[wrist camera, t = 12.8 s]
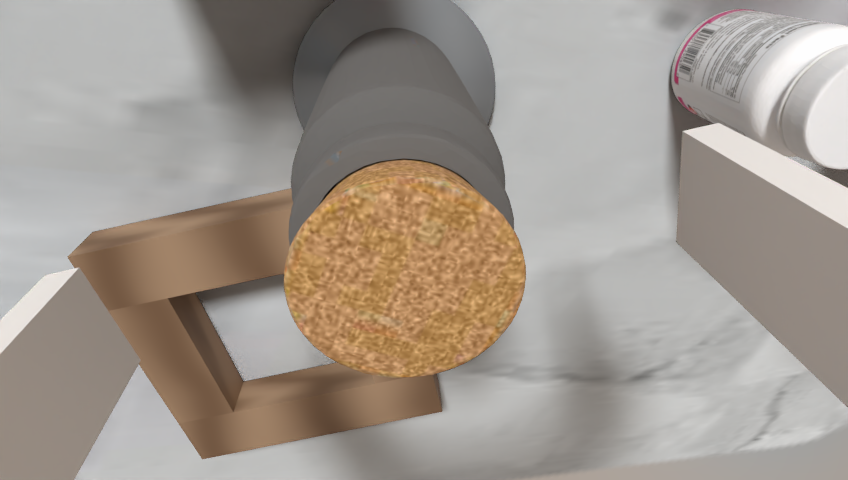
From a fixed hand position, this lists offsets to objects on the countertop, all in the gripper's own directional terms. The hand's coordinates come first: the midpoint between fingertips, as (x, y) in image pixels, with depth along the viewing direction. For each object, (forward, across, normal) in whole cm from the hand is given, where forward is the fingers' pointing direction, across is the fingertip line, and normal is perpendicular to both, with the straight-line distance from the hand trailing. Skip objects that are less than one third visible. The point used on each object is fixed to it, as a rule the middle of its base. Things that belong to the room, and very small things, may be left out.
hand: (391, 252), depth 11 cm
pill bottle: (+14, +16, -2) cm, 21 cm away
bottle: (+14, 0, 0) cm, 14 cm away
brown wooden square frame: (+14, -8, -11) cm, 20 cm away
